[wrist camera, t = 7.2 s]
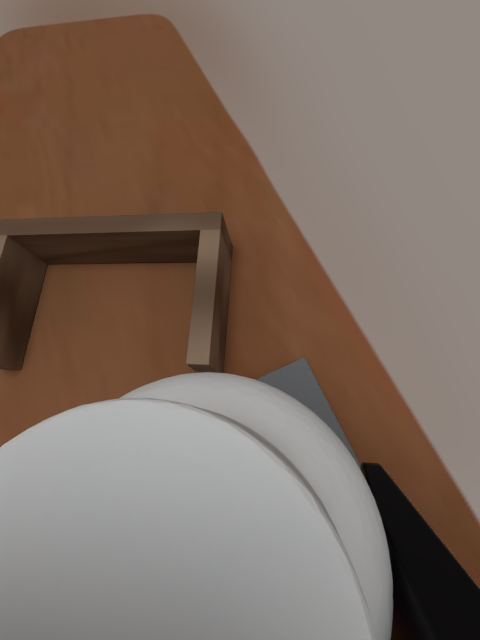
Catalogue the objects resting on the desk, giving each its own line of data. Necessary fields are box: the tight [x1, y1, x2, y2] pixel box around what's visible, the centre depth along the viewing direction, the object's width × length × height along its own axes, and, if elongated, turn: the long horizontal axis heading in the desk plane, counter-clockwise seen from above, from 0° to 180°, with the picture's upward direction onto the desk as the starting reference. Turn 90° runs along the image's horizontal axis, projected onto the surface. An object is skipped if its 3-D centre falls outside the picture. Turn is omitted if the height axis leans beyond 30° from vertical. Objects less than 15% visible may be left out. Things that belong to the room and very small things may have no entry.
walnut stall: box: [0, 212, 233, 373], centre depth 23 cm, size 9×15×4 cm, turn 87°
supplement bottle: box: [0, 372, 393, 640], centre depth 9 cm, size 7×7×13 cm
